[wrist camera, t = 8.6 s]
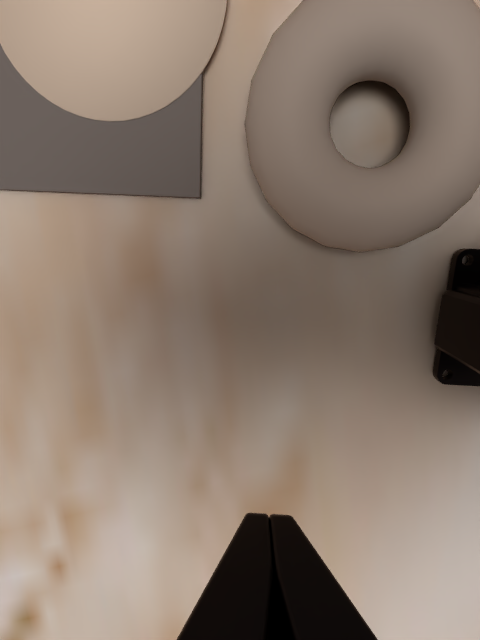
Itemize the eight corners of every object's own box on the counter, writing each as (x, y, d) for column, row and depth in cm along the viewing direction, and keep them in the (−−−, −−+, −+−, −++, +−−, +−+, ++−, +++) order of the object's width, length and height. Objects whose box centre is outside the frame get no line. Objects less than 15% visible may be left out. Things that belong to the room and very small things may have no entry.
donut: (201, 109, 16) (324, 292, 18) (187, 75, 13) (340, 304, 14) (399, -53, 15) (517, 162, 16) (442, -139, 11) (586, 142, 13)
